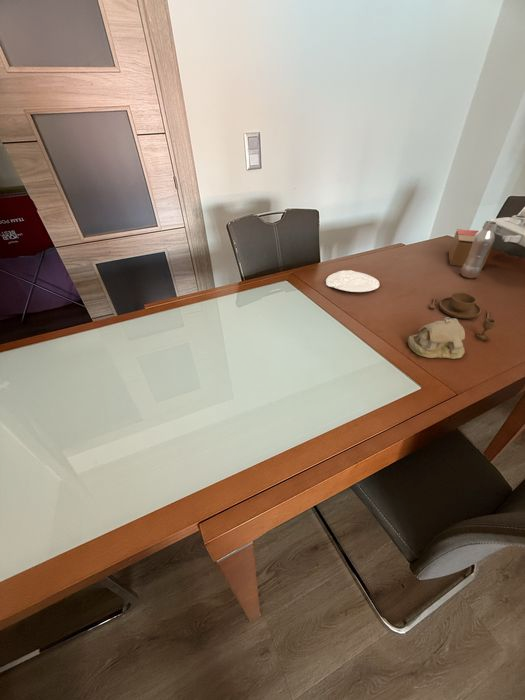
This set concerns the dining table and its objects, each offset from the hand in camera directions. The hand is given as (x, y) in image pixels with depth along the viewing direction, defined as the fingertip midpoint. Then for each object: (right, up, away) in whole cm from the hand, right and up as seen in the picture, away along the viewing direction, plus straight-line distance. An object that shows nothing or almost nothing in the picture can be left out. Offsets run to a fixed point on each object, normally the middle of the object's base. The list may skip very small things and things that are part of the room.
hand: (493, 234), depth 107 cm
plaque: (-47, -15, +10) cm, 51 cm away
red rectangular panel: (+5, +7, +18) cm, 20 cm away
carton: (+4, -3, +22) cm, 22 cm away
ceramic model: (-33, -41, -21) cm, 57 cm away
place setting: (-20, -31, -10) cm, 38 cm away
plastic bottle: (-2, -13, +10) cm, 16 cm away
